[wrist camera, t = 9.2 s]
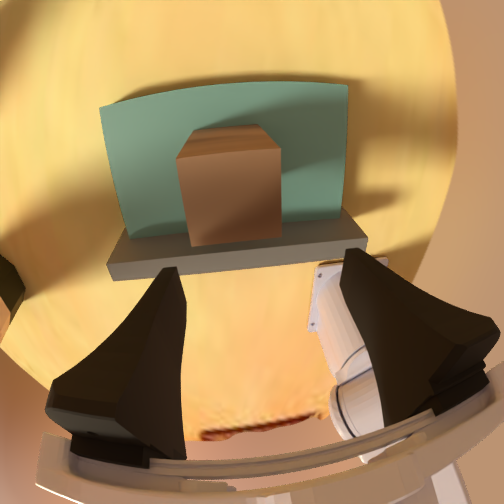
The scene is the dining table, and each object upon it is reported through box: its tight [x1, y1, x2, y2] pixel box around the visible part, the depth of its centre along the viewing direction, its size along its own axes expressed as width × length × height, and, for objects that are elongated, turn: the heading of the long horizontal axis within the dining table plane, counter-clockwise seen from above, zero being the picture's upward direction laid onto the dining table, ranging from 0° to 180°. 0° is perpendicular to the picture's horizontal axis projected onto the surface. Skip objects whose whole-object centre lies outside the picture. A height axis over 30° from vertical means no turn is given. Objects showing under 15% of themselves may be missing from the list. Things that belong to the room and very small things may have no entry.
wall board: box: [99, 81, 368, 281], centre depth 17 cm, size 12×18×5 cm, turn 93°
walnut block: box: [176, 124, 282, 247], centre depth 14 cm, size 4×4×7 cm
